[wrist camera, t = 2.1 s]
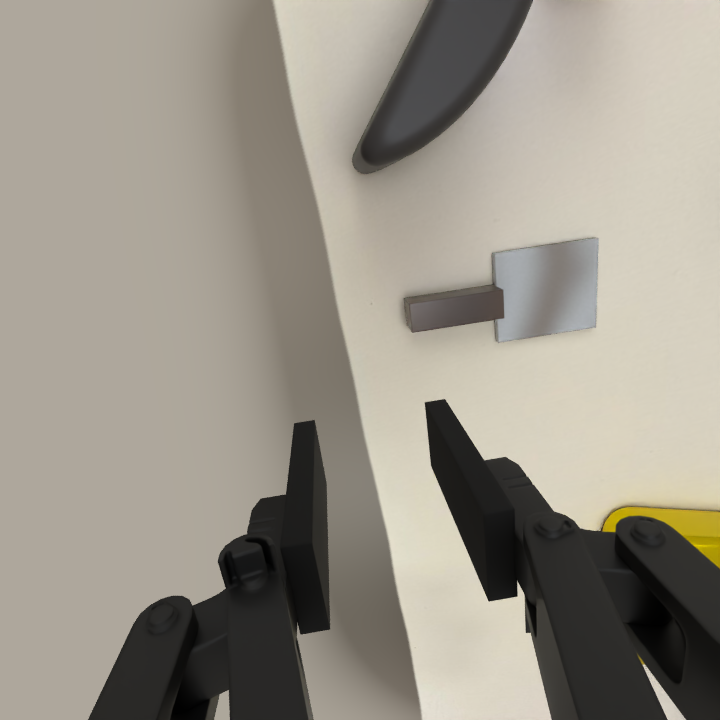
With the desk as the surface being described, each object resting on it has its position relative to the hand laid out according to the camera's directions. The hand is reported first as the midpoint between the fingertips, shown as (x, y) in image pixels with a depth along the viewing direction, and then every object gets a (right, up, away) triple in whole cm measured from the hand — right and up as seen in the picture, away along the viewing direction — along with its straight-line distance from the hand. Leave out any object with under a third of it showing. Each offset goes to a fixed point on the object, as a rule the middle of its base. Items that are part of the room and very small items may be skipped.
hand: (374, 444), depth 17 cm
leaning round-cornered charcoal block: (+3, +23, +13) cm, 27 cm away
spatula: (+11, +8, +19) cm, 23 cm away
